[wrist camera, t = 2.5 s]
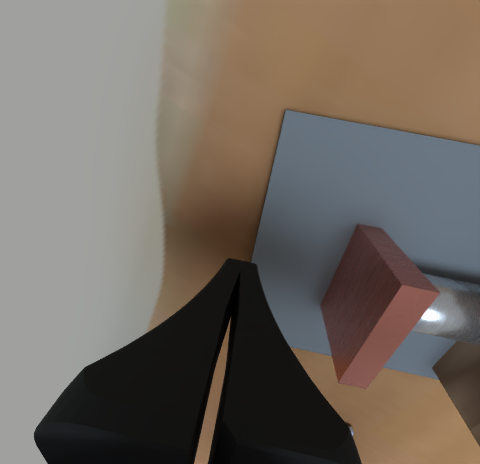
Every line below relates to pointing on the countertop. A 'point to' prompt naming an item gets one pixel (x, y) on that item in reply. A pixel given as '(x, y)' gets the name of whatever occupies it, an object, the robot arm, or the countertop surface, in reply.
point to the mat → (363, 219)
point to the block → (462, 381)
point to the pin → (389, 306)
